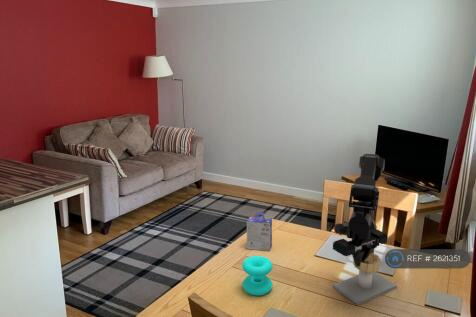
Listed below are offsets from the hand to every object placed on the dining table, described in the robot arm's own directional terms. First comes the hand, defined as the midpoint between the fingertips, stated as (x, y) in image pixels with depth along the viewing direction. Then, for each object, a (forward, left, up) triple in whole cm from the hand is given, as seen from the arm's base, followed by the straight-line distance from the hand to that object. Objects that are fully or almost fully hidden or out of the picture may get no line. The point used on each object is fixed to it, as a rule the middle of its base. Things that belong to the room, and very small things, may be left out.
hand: (358, 265), depth 123 cm
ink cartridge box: (+12, -42, -10) cm, 45 cm away
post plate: (-3, 0, -9) cm, 10 cm away
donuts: (+28, -18, -10) cm, 34 cm away
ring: (-3, 0, -1) cm, 4 cm away
